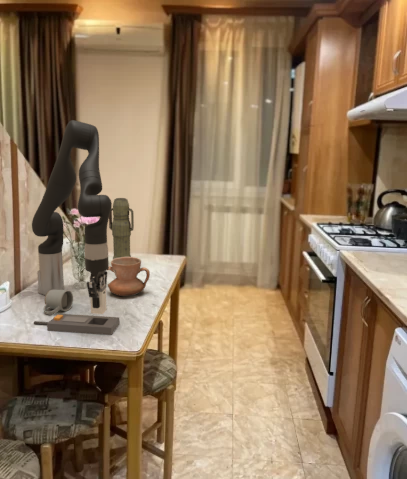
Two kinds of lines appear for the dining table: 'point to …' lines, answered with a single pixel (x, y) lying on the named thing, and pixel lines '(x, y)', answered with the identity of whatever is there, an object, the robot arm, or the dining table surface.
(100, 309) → the block
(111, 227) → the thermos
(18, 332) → the dining table surface
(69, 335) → the dining table surface
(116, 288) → the ceramic jug
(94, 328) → the power strip
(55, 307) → the ceramic mug
